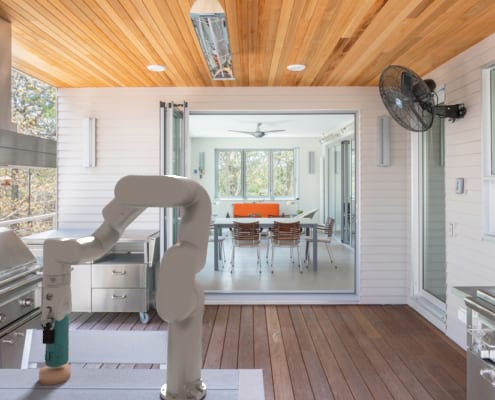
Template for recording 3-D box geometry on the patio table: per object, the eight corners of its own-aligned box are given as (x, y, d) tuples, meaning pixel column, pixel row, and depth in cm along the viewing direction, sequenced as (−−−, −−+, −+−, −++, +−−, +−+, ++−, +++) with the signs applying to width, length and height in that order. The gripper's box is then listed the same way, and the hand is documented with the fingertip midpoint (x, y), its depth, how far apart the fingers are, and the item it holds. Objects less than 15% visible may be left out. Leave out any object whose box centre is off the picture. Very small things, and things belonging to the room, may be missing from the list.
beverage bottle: (72, 364, 122) (75, 298, 122) (60, 373, 115) (62, 304, 115) (52, 362, 122) (54, 297, 122) (39, 371, 116) (41, 302, 116)
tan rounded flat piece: (74, 379, 118) (74, 369, 118) (43, 388, 113) (43, 377, 113) (65, 370, 124) (65, 360, 124) (35, 377, 119) (35, 367, 119)
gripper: (57, 286, 110) (56, 348, 110) (80, 274, 127) (80, 328, 127) (29, 285, 110) (28, 348, 110) (56, 274, 127) (56, 328, 127)
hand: (56, 337), depth 119 cm, fingers open, 9 cm apart
